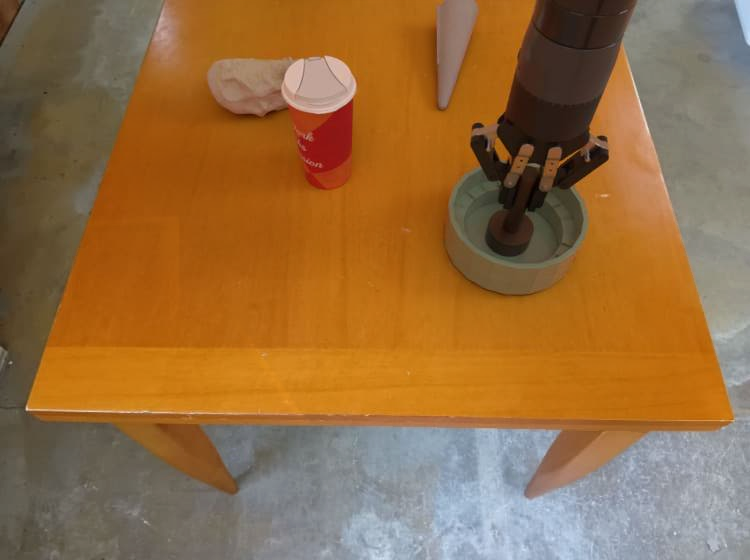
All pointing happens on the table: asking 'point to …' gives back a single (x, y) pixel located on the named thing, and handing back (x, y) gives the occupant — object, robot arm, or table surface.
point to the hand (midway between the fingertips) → (518, 204)
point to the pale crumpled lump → (249, 84)
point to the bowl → (545, 251)
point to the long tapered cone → (452, 43)
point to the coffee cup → (322, 118)
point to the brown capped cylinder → (513, 220)
